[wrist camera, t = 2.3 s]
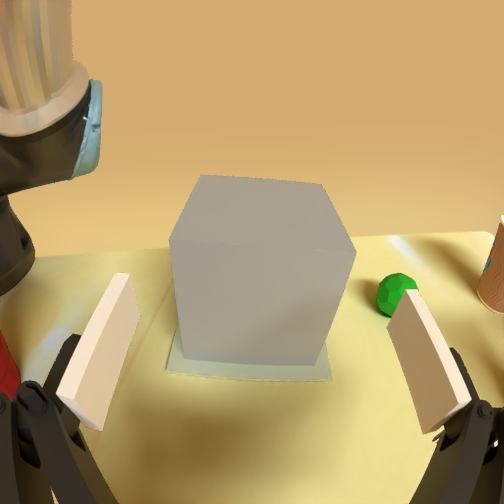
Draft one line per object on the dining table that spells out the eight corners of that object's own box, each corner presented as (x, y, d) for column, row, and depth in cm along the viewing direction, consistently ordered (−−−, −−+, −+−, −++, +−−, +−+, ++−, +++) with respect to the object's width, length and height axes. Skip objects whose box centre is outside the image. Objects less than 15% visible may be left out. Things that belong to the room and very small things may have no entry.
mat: (166, 372, 22) (166, 370, 22) (192, 271, 34) (192, 268, 34) (330, 381, 23) (331, 378, 23) (310, 279, 34) (311, 276, 34)
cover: (184, 358, 23) (169, 238, 17) (202, 277, 33) (200, 174, 26) (314, 365, 24) (356, 252, 17) (301, 283, 33) (321, 184, 26)
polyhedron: (415, 322, 29) (433, 291, 26) (383, 330, 28) (400, 297, 25) (395, 294, 33) (409, 263, 30) (364, 298, 32) (377, 266, 29)
